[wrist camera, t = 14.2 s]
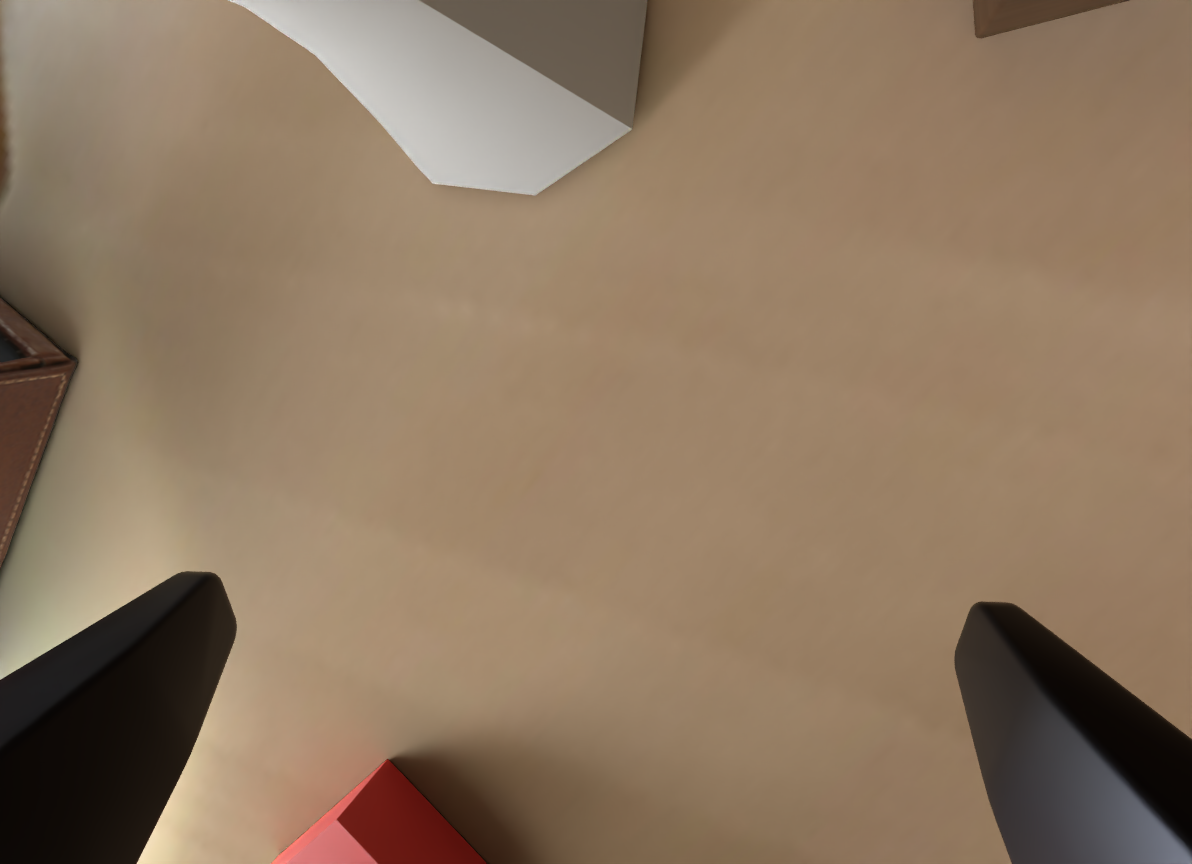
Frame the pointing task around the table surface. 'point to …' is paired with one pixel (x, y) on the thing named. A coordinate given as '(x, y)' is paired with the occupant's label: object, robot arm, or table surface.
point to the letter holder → (25, 409)
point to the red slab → (381, 828)
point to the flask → (481, 78)
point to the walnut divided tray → (1026, 13)
